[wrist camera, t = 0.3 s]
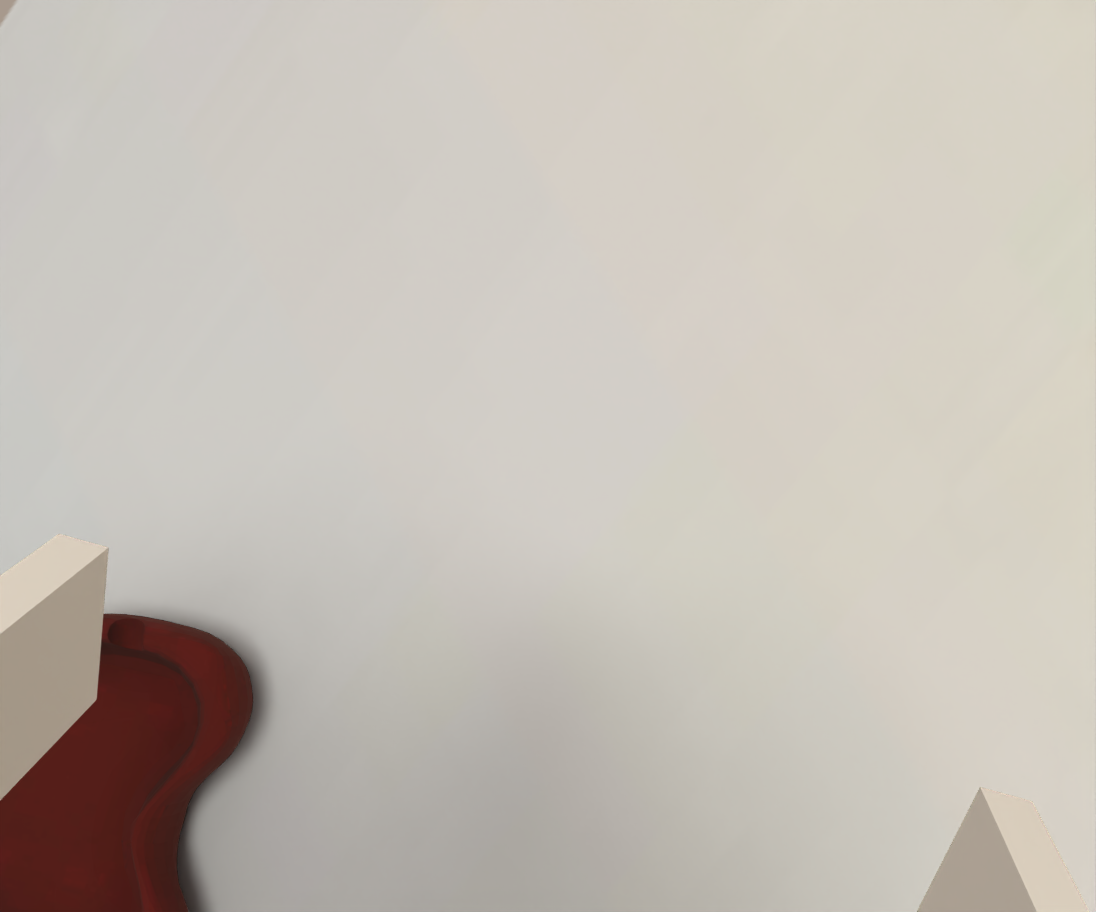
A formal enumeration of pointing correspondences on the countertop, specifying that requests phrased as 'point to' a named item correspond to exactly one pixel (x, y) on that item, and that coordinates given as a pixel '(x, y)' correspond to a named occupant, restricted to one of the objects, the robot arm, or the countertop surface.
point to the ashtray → (124, 775)
